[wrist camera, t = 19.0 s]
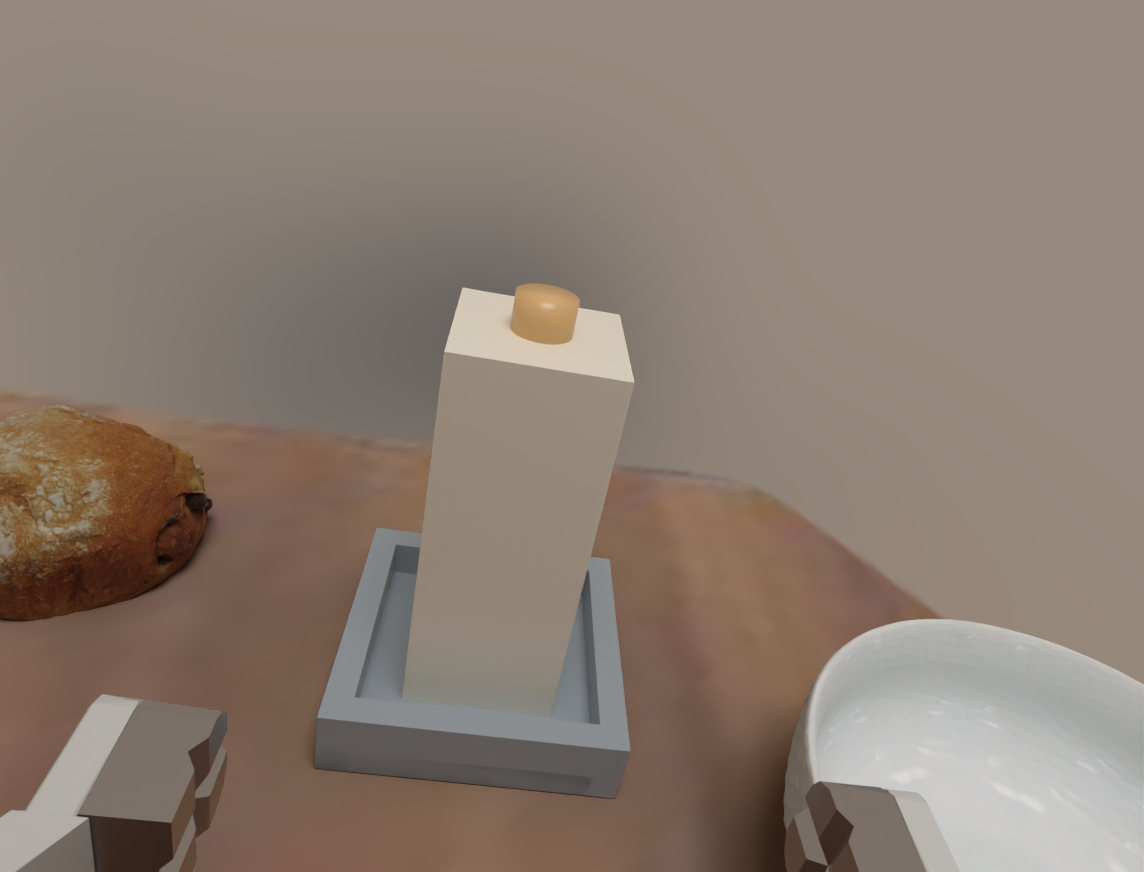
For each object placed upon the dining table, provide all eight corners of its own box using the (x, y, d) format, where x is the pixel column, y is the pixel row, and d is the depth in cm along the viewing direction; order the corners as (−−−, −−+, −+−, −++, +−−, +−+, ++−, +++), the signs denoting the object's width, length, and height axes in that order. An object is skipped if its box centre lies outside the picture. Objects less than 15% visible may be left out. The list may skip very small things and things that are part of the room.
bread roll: (28, 543, 39) (-90, 413, 34) (232, 464, 40) (147, 329, 36) (-29, 700, 31) (-192, 560, 26) (228, 595, 32) (117, 444, 28)
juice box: (401, 699, 29) (449, 311, 22) (422, 599, 34) (467, 253, 27) (549, 716, 30) (643, 344, 22) (549, 615, 34) (627, 282, 27)
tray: (314, 768, 27) (317, 717, 26) (372, 571, 36) (376, 527, 35) (614, 798, 28) (630, 751, 27) (598, 600, 37) (609, 559, 36)
